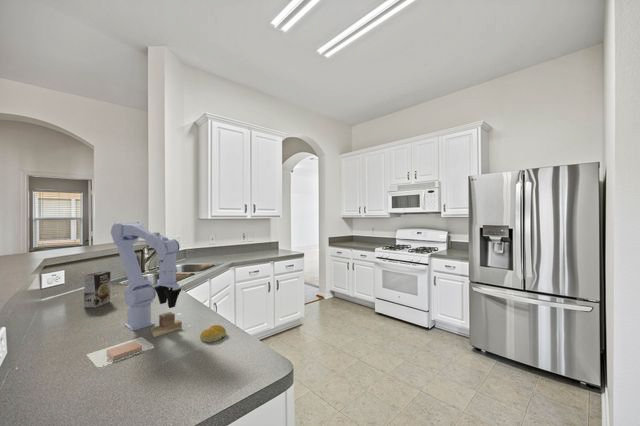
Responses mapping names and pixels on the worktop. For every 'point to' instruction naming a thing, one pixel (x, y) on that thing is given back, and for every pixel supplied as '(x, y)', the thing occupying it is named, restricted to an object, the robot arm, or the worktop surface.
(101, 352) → the rubber mat
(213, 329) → the bread roll
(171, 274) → the robot arm
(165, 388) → the worktop surface
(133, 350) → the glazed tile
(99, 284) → the coffee box
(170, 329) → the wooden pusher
